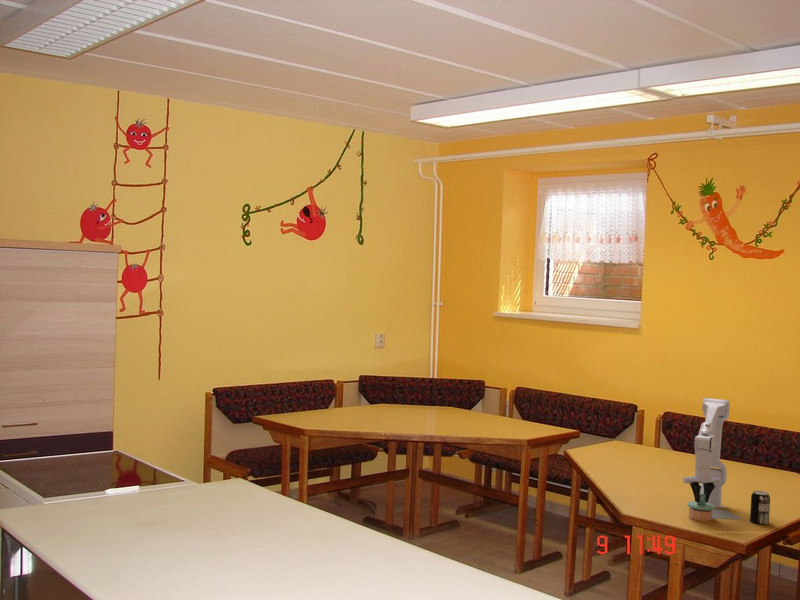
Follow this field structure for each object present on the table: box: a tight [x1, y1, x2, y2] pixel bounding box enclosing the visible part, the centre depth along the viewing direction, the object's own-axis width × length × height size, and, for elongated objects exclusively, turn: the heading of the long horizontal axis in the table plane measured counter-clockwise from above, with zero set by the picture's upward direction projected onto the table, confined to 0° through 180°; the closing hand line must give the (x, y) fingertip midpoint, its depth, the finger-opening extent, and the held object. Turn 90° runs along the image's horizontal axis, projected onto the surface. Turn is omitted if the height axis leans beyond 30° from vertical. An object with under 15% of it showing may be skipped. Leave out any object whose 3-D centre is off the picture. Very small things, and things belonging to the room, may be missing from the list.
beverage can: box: [749, 490, 771, 526], centre depth 310 cm, size 7×7×12 cm
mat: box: [712, 508, 743, 520], centre depth 320 cm, size 13×12×1 cm
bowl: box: [688, 507, 713, 522], centre depth 313 cm, size 8×8×4 cm
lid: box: [686, 493, 716, 510], centre depth 313 cm, size 10×10×5 cm
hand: (701, 501), depth 313 cm, fingers closed on lid, 3 cm apart
